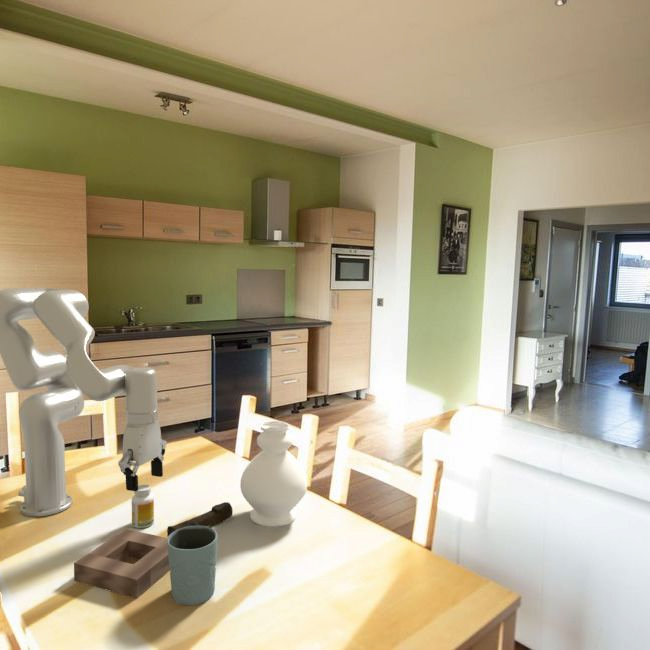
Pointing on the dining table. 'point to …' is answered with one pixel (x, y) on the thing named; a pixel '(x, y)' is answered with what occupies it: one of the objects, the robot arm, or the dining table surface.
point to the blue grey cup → (192, 564)
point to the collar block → (120, 576)
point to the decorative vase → (274, 478)
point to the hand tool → (206, 518)
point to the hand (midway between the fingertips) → (145, 482)
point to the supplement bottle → (142, 507)
